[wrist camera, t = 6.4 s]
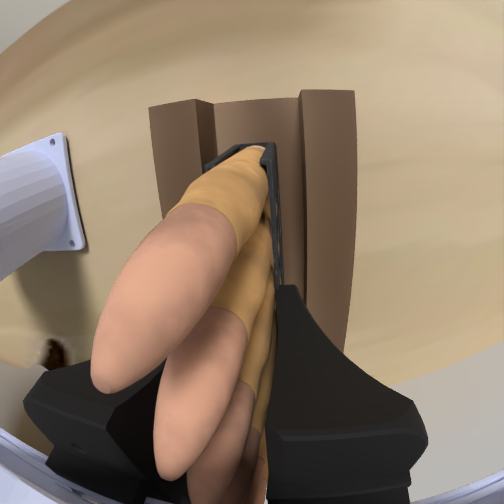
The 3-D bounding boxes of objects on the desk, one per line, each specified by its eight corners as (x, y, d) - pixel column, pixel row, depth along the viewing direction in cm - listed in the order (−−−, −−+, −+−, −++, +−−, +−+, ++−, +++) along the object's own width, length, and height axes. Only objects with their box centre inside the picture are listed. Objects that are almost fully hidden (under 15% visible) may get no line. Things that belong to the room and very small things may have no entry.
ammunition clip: (233, 144, 12) (-18, 273, 2) (276, 141, 12) (189, 278, 1) (253, 339, 17) (215, 548, 6) (285, 339, 16) (270, 553, 6)
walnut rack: (214, 342, 20) (200, 384, 16) (181, 110, 14) (148, 107, 10) (331, 343, 19) (337, 387, 15) (337, 99, 13) (354, 90, 9)
